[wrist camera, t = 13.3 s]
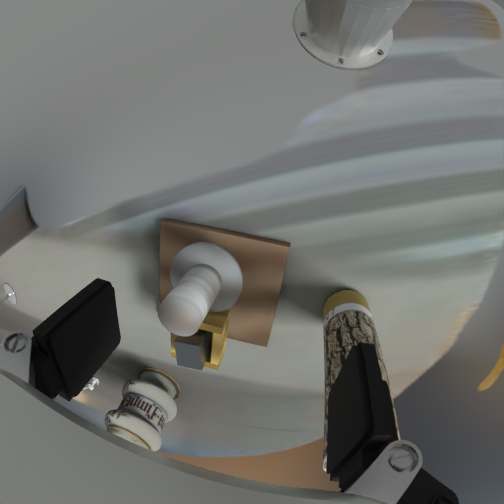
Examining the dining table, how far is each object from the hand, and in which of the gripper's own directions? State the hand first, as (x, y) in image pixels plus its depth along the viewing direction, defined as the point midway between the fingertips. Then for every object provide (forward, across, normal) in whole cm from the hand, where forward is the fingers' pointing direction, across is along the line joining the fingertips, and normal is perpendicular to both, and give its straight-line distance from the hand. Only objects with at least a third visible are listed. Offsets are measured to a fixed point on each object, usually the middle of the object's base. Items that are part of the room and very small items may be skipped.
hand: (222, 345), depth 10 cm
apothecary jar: (+28, +18, +43) cm, 55 cm away
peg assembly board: (+28, +7, +14) cm, 32 cm away
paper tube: (+28, -12, +14) cm, 34 cm away
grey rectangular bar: (+27, +7, +18) cm, 33 cm away
